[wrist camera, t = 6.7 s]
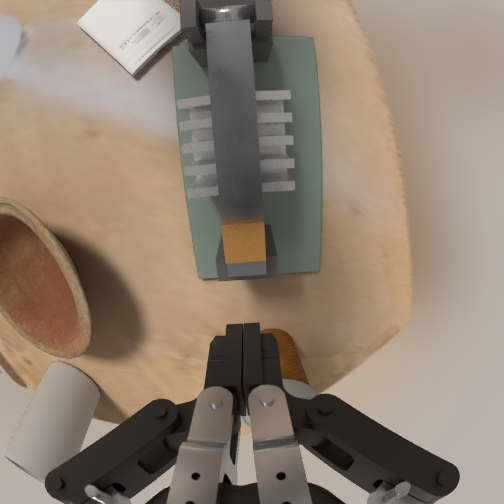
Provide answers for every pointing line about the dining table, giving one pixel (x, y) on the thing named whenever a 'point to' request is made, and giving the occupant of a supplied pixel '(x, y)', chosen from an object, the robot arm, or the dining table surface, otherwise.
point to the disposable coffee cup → (288, 370)
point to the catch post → (270, 270)
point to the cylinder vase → (54, 421)
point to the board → (303, 151)
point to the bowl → (41, 285)
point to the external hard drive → (132, 29)
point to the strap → (236, 136)
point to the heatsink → (269, 143)
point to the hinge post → (193, 3)
